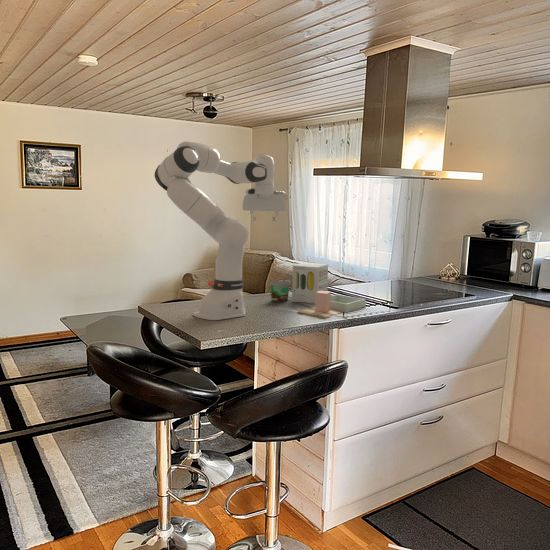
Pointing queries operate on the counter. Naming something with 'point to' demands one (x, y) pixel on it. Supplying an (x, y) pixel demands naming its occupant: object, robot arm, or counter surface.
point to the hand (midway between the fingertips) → (264, 220)
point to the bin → (346, 303)
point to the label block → (322, 301)
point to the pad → (319, 313)
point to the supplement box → (308, 281)
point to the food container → (280, 290)
